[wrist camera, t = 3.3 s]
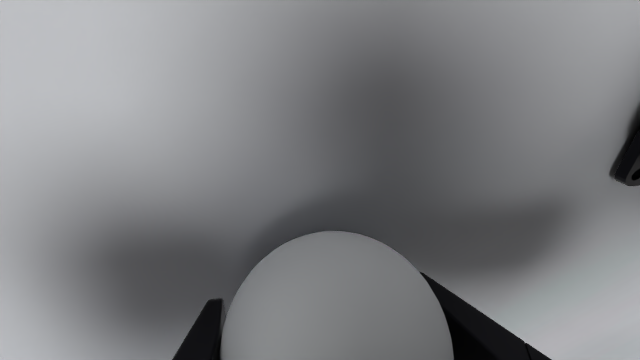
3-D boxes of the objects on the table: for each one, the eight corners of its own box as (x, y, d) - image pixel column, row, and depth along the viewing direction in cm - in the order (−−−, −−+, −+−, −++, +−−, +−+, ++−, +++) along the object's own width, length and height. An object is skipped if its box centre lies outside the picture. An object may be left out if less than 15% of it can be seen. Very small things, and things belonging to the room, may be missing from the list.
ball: (404, 186, 10) (569, 360, 5) (379, 310, 13) (469, 504, 8) (216, 198, 9) (182, 448, 4) (232, 334, 12) (224, 584, 7)
